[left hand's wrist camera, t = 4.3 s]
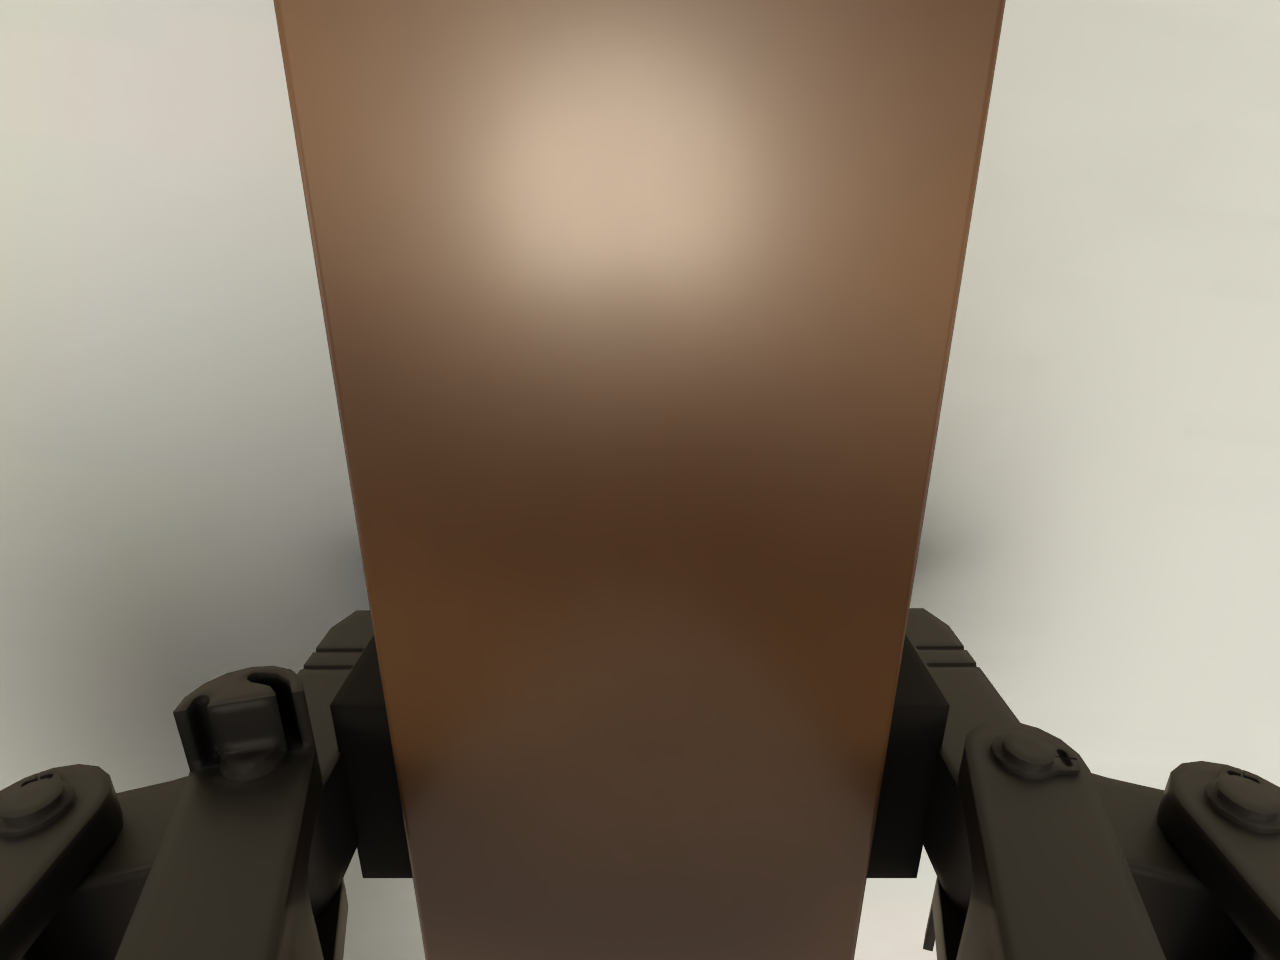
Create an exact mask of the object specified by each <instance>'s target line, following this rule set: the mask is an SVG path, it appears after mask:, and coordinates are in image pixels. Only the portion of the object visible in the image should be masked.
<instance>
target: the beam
mask: <svg viewBox="0 0 1280 960" xmlns="http://www.w3.org/2000/svg"><path fill="white" fill-rule="evenodd" d="M1005 1H1006V0H274V6H275V12H276V19H277V25H278V31H279V38H280V44H281V50H282V56H283V63H284V69H285V75H286V82H287V88H288V94H289V101H290V107H291V113H292V119H293V126H294V132H295V138H296V145H297V151H298V157H299V164H300V170H301V176H302V182H303V189H304V195H305V201H306V208H307V214H308V220H309V227H310V233H311V239H312V245H313V252H314V258H315V264H316V271H317V277H318V283H319V290H320V296H321V302H322V308H323V315H324V321H325V327H326V334H327V340H328V346H329V353H330V359H331V365H332V371H333V378H334V384H335V390H336V397H337V403H338V409H339V416H340V422H341V428H342V434H343V441H344V447H345V453H346V460H347V466H348V472H349V479H350V485H351V491H352V497H353V504H354V510H355V516H356V523H357V529H358V535H359V542H360V548H361V554H362V560H363V567H364V573H365V579H366V586H367V592H368V598H369V605H370V611H371V617H372V623H373V630H374V636H375V642H376V649H377V655H378V661H379V668H380V674H381V680H382V686H383V693H384V699H385V705H386V712H387V718H388V724H389V731H390V737H391V743H392V749H393V756H394V762H395V768H396V775H397V781H398V787H399V794H400V800H401V806H402V812H403V819H404V825H405V831H406V838H407V844H408V850H409V857H410V863H411V869H412V875H413V882H414V888H415V894H416V901H417V907H418V913H419V920H420V926H421V932H422V938H423V945H424V951H425V957H426V960H854V954H855V948H856V942H857V935H858V929H859V923H860V916H861V910H862V904H863V898H864V891H865V885H866V879H867V872H868V866H869V860H870V853H871V847H872V841H873V834H874V828H875V822H876V815H877V809H878V803H879V796H880V790H881V784H882V778H883V771H884V765H885V759H886V752H887V746H888V740H889V733H890V727H891V721H892V714H893V708H894V702H895V695H896V689H897V683H898V676H899V670H900V664H901V658H902V651H903V645H904V639H905V632H906V626H907V620H908V613H909V607H910V601H911V594H912V588H913V582H914V575H915V569H916V563H917V556H918V550H919V544H920V538H921V531H922V525H923V519H924V512H925V506H926V500H927V493H928V487H929V481H930V474H931V468H932V462H933V455H934V449H935V443H936V436H937V430H938V424H939V418H940V411H941V405H942V399H943V392H944V386H945V380H946V373H947V367H948V361H949V354H950V348H951V342H952V335H953V329H954V323H955V317H956V310H957V304H958V298H959V291H960V285H961V279H962V272H963V266H964V260H965V253H966V247H967V241H968V234H969V228H970V222H971V215H972V209H973V203H974V197H975V190H976V184H977V178H978V171H979V165H980V159H981V152H982V146H983V140H984V133H985V127H986V121H987V114H988V108H989V102H990V95H991V89H992V83H993V77H994V70H995V64H996V58H997V51H998V45H999V39H1000V32H1001V26H1002V20H1003V13H1004V7H1005Z"/></svg>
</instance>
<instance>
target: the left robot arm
mask: <svg viewBox="0 0 1280 960" xmlns="http://www.w3.org/2000/svg"><path fill="white" fill-rule="evenodd" d="M173 714H174V717H175V721H176V724H177V727H178V731H179V734H180V738H181V741H182V744H183V748H184V751H185V755H186V758H187V762H188V765H189V768H190V773H189V776H187V777H184V778H180V779H177V780H173V781H169V782H165V783H160V784H156V785H152V786H147V787H143V788H138V789H134V790H129V791H125V792H121V793H116V792H115V790H114V787H113V784H112V781H111V778H110V775H109V774H107V773H106V772H105V771H104V770H102V769H101V768H100V767H98V766H90V765H82V764H76V765H70V766H63V767H57V768H52V769H49V770H46V771H43V772H40V773H38V774H37V773H36V774H34V775H31V776H29V777H26V778H24V779H22V780H20V781H18V782H16V783H14V784H12V785H11V786H9V787H7V788H5V789H3V790H1V791H0V960H343V953H344V943H345V932H346V922H347V912H348V902H347V896H346V890H345V885H344V880H343V877H344V875H345V873H346V870H347V868H348V866H349V864H350V861H351V859H352V857H353V854H354V852H355V850H356V848H357V849H358V854H359V860H360V865H361V870H362V875H363V878H413V875H412V869H411V863H410V857H409V850H408V844H407V838H406V831H405V825H404V819H403V812H402V806H401V800H400V794H399V787H398V781H397V775H396V768H395V762H394V756H393V749H392V743H391V737H390V731H389V724H388V718H387V712H386V705H385V699H384V693H383V686H382V680H381V674H380V668H379V661H378V655H377V649H376V642H375V636H374V630H373V623H372V617H371V611H355V612H354V613H352V614H351V615H350V616H348V617H347V618H345V619H344V620H342V621H341V622H339V623H338V624H336V625H335V626H334V627H332V628H331V629H330V630H329V632H328V633H327V635H326V636H325V637H324V639H323V640H322V641H321V643H320V644H319V645H318V647H317V648H316V653H313V654H312V655H311V656H310V658H309V659H308V660H307V662H306V663H305V665H304V669H303V670H300V671H299V673H298V674H296V673H295V672H293V671H292V670H290V669H285V668H281V667H276V666H265V667H251V668H247V669H243V670H239V671H235V672H231V673H227V674H225V675H223V676H220V677H218V678H216V679H214V680H211V681H209V682H207V683H205V684H203V685H202V686H200V687H199V688H197V689H196V690H195V691H193V692H192V693H190V694H189V695H188V696H186V697H185V698H184V699H183V701H182V702H181V703H180V704H179V706H178V707H177V708H176V709H175V711H174V712H173ZM923 845H924V847H925V850H926V852H927V854H928V856H929V859H930V861H931V863H932V865H933V868H934V870H935V872H936V874H937V880H936V885H935V890H934V894H933V899H932V904H931V909H930V914H929V919H928V923H927V928H926V933H925V940H924V946H923V949H926V950H929V951H933V947H934V942H935V941H936V951H937V960H1280V787H1278V786H1276V785H1274V784H1272V783H1270V782H1269V781H1267V780H1265V779H1263V778H1261V777H1259V776H1257V775H1255V774H1252V773H1250V772H1247V771H1245V770H1244V771H1243V770H1240V769H1238V768H1235V767H1232V766H1229V765H1224V764H1218V763H1211V762H1205V761H1198V762H1190V763H1182V764H1181V765H1179V766H1178V767H1177V768H1175V769H1174V770H1173V771H1172V772H1171V773H1170V776H1169V779H1168V782H1167V785H1166V788H1165V791H1164V790H1160V789H1155V788H1151V787H1146V786H1142V785H1137V784H1133V783H1128V782H1124V781H1119V780H1115V779H1110V778H1106V777H1103V776H1100V775H1096V774H1093V773H1091V772H1090V770H1089V768H1088V767H1087V765H1086V764H1085V762H1084V761H1083V759H1082V758H1081V757H1080V755H1079V754H1078V753H1077V752H1076V751H1074V750H1073V749H1072V748H1071V747H1069V746H1068V745H1067V744H1066V743H1064V742H1063V741H1062V740H1061V739H1059V738H1057V737H1055V736H1053V735H1051V734H1049V733H1047V732H1045V731H1043V730H1041V729H1039V728H1036V727H1032V726H1029V725H1025V724H1022V723H1020V722H1019V720H1018V719H1017V718H1016V716H1015V715H1014V714H1013V712H1012V711H1011V710H1010V708H1009V707H1008V706H1007V704H1006V703H1005V701H1004V700H1003V699H1002V697H1001V696H1000V695H999V693H998V692H997V691H996V689H995V688H994V687H993V685H992V684H991V682H990V681H989V680H988V678H987V677H986V676H985V674H984V673H983V672H982V670H981V669H980V668H979V667H976V662H975V661H974V659H973V658H972V657H971V655H970V654H969V653H968V651H967V650H964V646H963V644H962V643H961V642H960V640H959V639H958V638H957V636H956V635H955V634H954V632H953V631H952V630H951V628H950V627H949V626H948V625H947V624H945V623H944V622H942V621H941V620H940V619H938V618H937V617H935V616H934V615H932V614H931V613H929V612H928V611H926V610H925V609H923V608H909V613H908V620H907V626H906V632H905V639H904V645H903V651H902V658H901V664H900V670H899V676H898V683H897V689H896V695H895V702H894V708H893V714H892V721H891V727H890V733H889V740H888V746H887V752H886V759H885V765H884V771H883V778H882V784H881V790H880V796H879V803H878V809H877V815H876V822H875V828H874V834H873V841H872V847H871V853H870V860H869V866H868V872H867V878H917V873H918V868H919V862H920V857H921V852H922V847H923Z"/></svg>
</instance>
